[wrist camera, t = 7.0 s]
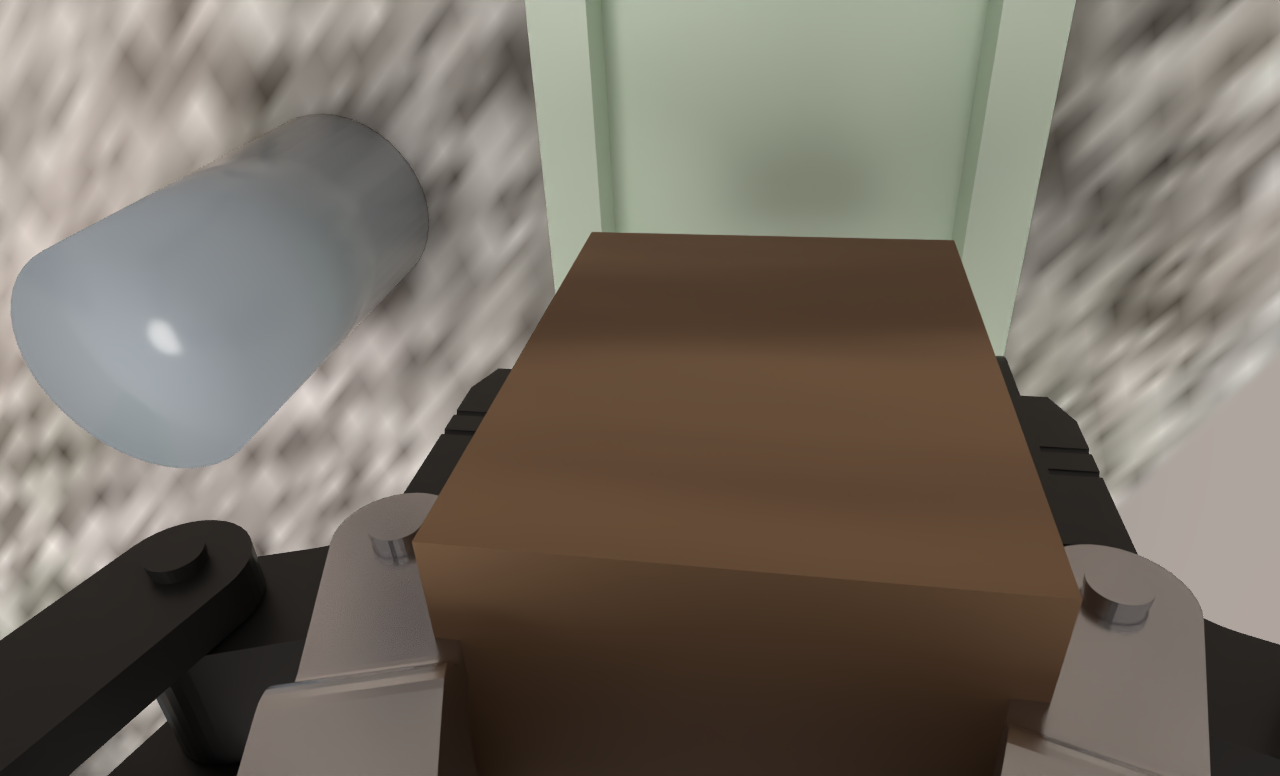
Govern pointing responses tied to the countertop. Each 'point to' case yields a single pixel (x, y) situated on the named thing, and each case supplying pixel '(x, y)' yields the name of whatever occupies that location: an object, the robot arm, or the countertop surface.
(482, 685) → the walnut block
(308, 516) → the countertop surface
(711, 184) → the sage tray
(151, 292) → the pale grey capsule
